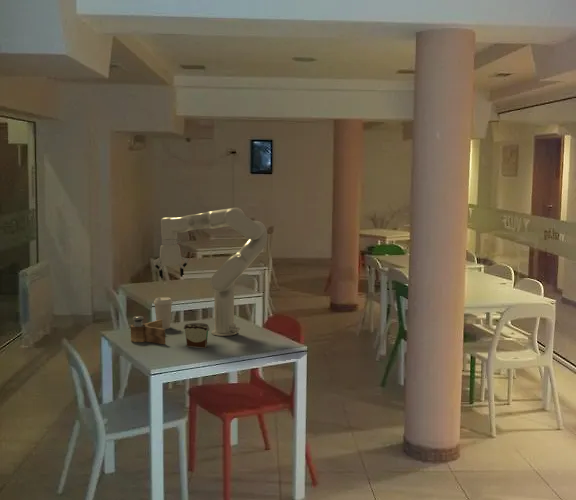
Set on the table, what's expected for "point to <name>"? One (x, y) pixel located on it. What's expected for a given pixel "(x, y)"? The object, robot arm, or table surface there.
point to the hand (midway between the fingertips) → (171, 277)
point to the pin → (138, 321)
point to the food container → (196, 334)
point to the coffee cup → (163, 311)
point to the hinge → (148, 332)
